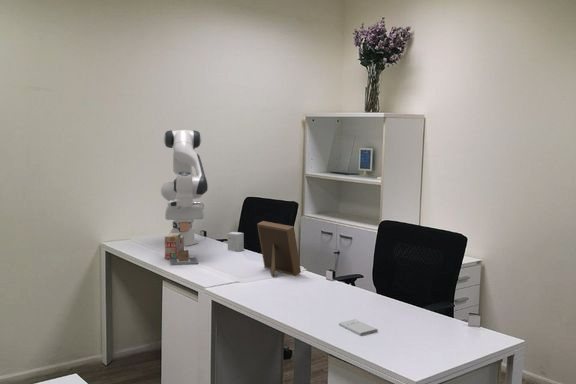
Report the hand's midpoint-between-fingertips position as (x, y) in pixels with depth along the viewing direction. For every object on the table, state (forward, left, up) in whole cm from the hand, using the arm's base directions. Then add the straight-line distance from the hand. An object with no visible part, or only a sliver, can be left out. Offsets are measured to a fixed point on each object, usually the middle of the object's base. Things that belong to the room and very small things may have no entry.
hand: (184, 227), depth 299 cm
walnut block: (0, 0, -18) cm, 18 cm away
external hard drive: (+114, +56, -19) cm, 129 cm away
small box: (-24, +32, -19) cm, 44 cm away
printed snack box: (-16, -4, -19) cm, 25 cm away
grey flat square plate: (0, 0, -19) cm, 19 cm away
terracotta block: (0, 0, -2) cm, 2 cm away
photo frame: (+31, +44, -19) cm, 57 cm away
